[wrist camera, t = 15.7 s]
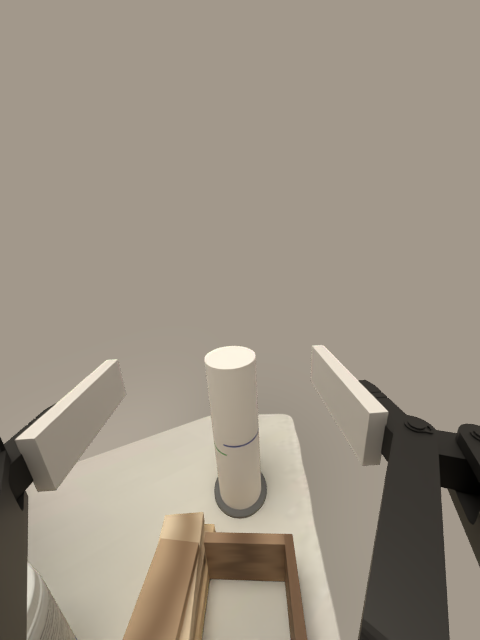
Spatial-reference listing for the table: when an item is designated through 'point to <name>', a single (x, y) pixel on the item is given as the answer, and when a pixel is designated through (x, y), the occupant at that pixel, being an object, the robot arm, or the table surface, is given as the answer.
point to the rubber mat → (243, 512)
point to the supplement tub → (44, 611)
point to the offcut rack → (208, 576)
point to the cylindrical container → (235, 423)
